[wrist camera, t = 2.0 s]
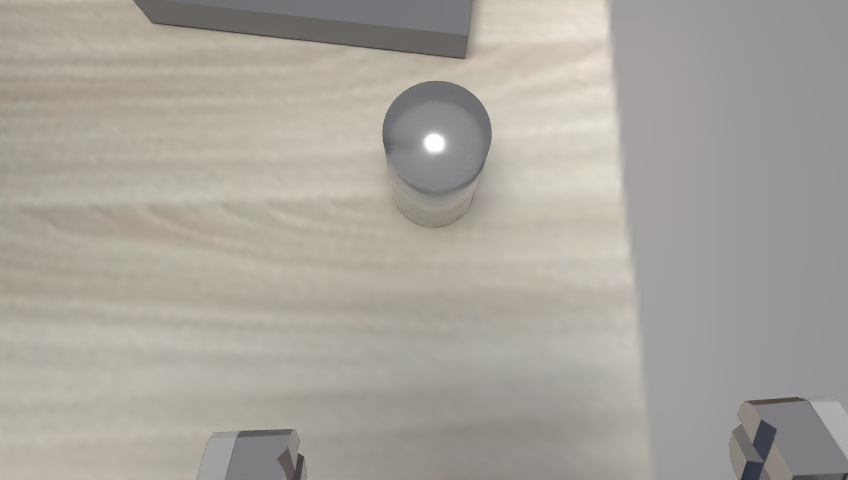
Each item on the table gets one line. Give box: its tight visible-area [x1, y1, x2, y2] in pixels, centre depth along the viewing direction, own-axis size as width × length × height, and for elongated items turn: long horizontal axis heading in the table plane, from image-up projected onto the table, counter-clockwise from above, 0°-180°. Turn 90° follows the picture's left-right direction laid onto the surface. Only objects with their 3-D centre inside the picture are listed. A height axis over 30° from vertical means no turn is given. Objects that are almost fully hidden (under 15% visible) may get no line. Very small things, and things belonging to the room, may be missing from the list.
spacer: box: [383, 81, 492, 227], centre depth 35 cm, size 5×5×10 cm
